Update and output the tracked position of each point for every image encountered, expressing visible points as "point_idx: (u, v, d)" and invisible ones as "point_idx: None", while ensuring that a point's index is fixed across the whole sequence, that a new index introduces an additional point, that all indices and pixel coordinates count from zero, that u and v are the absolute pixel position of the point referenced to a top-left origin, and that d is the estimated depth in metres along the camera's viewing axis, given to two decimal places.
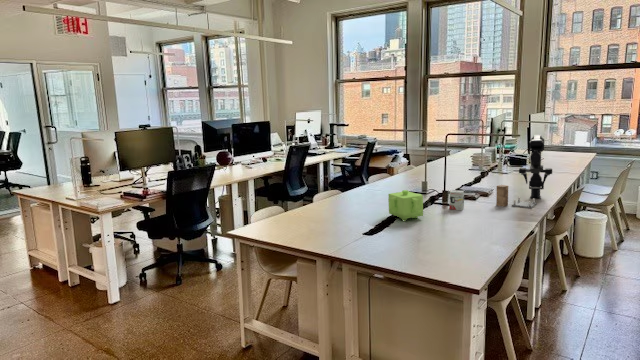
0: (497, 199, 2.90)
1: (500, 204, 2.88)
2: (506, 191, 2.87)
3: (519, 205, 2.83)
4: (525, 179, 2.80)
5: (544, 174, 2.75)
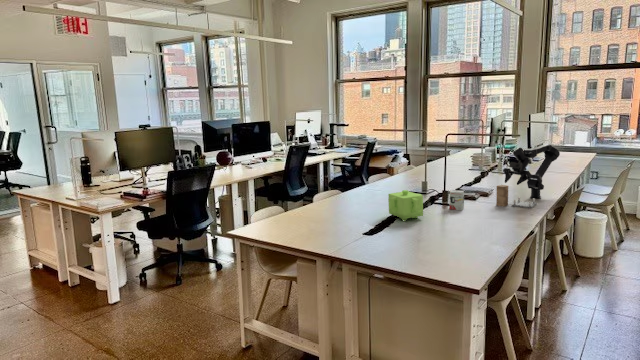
0: (497, 199, 2.90)
1: (500, 204, 2.88)
2: (506, 191, 2.87)
3: (519, 205, 2.83)
4: (505, 177, 2.96)
5: None
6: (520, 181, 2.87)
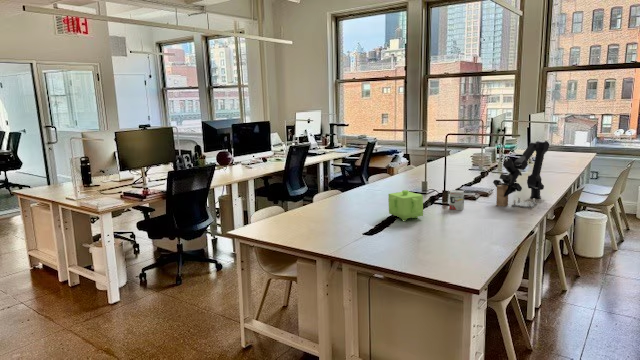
0: (497, 199, 2.90)
1: (500, 204, 2.88)
2: None
3: (519, 205, 2.83)
4: None
5: None
6: (507, 193, 2.86)
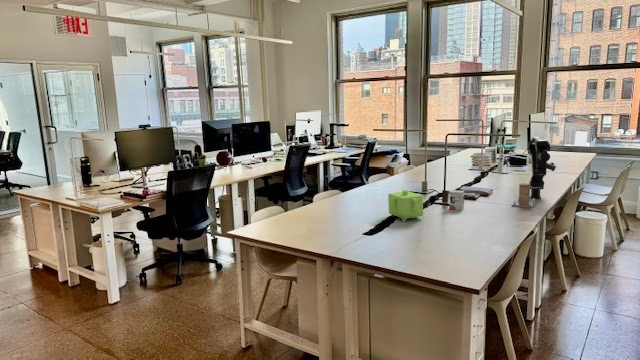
0: (520, 198, 2.85)
1: (524, 203, 2.84)
2: (529, 189, 2.84)
3: (519, 205, 2.83)
4: (542, 179, 2.84)
5: None
6: None
